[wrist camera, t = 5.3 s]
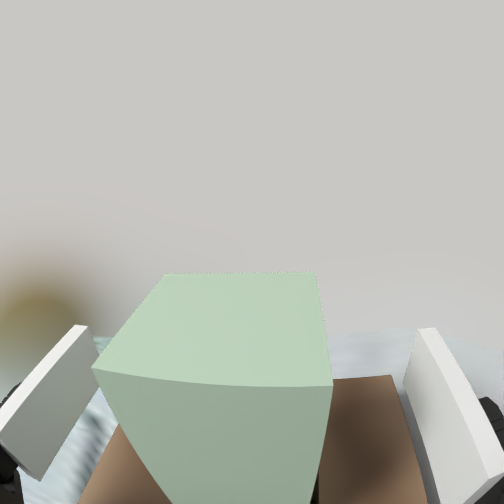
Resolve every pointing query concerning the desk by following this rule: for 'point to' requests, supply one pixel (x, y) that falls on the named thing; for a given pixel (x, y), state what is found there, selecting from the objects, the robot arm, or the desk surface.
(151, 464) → the sage block
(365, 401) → the pocket dock
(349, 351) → the desk surface
